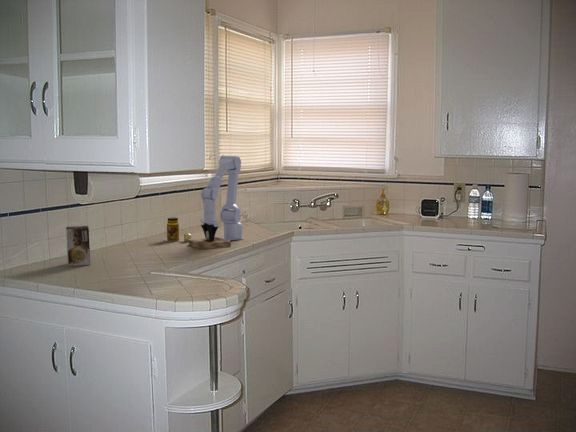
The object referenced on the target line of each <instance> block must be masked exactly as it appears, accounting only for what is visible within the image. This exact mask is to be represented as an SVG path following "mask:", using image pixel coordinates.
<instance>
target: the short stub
mask: <svg viewBox="0 0 576 432" xmlns="http://www.w3.org/2000/svg"><path fill="white" fill-rule="evenodd" d="M189 240H192V233H184V234H183V242H184V243H189Z"/></svg>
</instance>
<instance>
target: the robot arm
mask: <svg viewBox="0 0 576 432" xmlns="http://www.w3.org/2000/svg"><path fill="white" fill-rule="evenodd" d="M218 162H219V163H218V164H219V166H218V168H217V170H216V173H215V175H213V176H212V177H211V178H210V180H209V181H208V183H207V186H206V187H205V188H203V189H202V190H201V193H200V196H201V198H202V203H203V219H202V218H201V219H200V225H201V228H202V231H203V234H204V238H206V230H208V232H209V239H210V240H214V237H216V234H217V230H218V228H219V224H220V223H219V222H218V221H217V220H216V201H217V198H218V196H219V194H218V193H219V190H220V187H221V185H222V184H223V181H222V179H223V178H224V176H225V174H226V173H227V175H228V176H227V179H228V180H227V187H226V188H227V190H226V191H227V192H226V200H225V201H226V202H225V204H224V205H223V206H222V207H221V210H220V213H219V219H220V221H221V222H222V223H223V237H220V238H221V239H225V240H228V241H236V240H237V241H238V240H243V239H244V238H243V225H242V223H241V222H240V221H241V219H242V214H241V208H240V207H239V206H238V204H237V197H238V185H239V173H240V172H241V167H242V159H241V157H240V156H239V155H224V154H222V155H220V157H219V160H218Z"/></svg>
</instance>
